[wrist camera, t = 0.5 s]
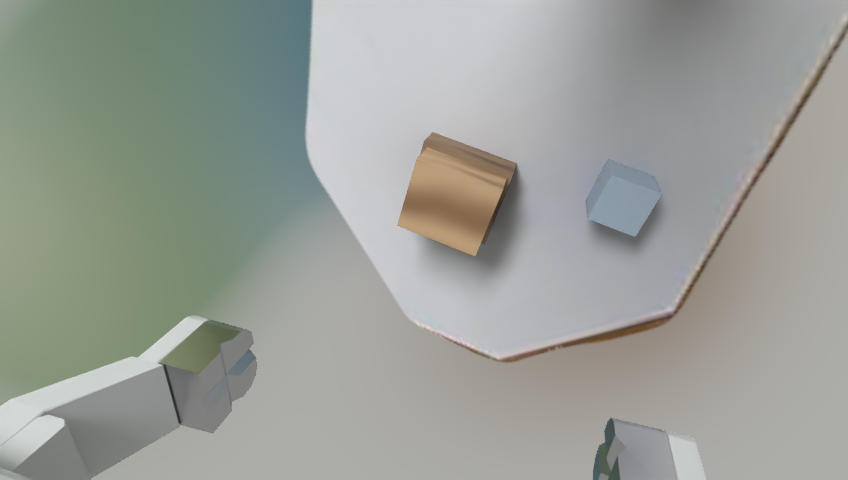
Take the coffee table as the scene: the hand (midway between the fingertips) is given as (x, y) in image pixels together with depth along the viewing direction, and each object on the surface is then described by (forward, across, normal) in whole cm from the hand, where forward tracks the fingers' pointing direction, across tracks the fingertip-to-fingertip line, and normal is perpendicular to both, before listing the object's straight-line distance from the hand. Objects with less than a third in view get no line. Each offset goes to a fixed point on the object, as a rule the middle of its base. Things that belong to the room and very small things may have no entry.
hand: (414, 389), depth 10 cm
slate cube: (+43, -11, +10) cm, 46 cm away
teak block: (+40, +6, +12) cm, 42 cm away
